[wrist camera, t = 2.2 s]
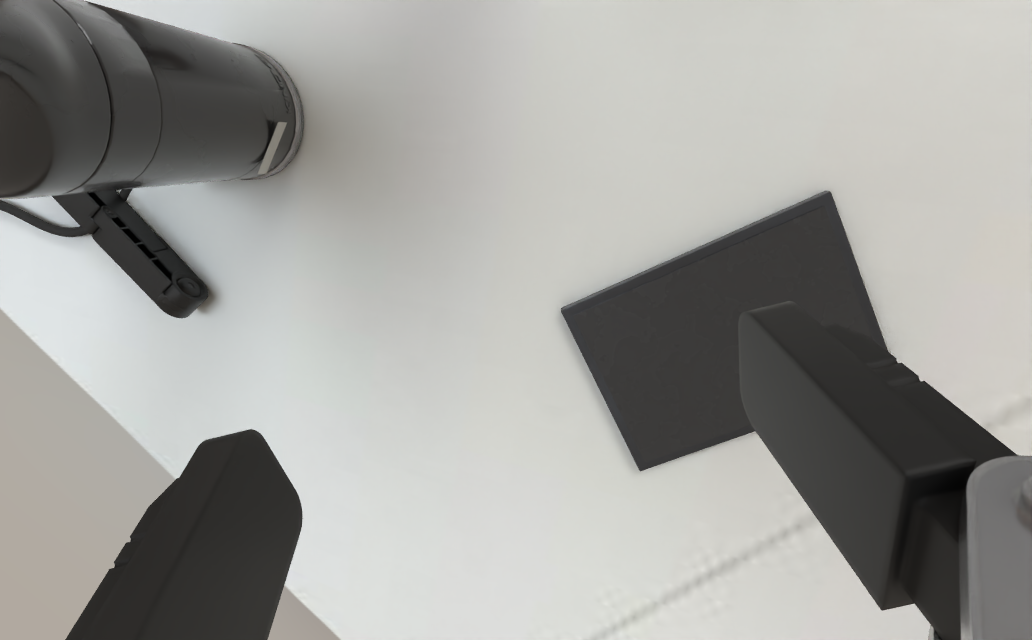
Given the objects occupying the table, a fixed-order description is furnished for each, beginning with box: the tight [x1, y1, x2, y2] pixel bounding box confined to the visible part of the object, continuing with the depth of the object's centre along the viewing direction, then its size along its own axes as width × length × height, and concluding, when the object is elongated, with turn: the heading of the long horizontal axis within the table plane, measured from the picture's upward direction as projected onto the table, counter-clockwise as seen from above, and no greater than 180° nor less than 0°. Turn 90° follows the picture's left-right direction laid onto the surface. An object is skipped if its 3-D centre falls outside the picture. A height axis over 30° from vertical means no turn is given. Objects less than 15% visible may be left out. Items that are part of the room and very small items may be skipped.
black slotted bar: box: [52, 190, 208, 318], centre depth 44 cm, size 18×3×3 cm, turn 40°
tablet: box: [561, 191, 888, 471], centre depth 41 cm, size 20×15×1 cm
